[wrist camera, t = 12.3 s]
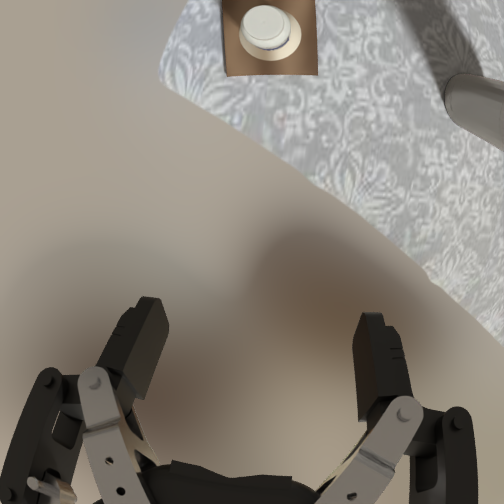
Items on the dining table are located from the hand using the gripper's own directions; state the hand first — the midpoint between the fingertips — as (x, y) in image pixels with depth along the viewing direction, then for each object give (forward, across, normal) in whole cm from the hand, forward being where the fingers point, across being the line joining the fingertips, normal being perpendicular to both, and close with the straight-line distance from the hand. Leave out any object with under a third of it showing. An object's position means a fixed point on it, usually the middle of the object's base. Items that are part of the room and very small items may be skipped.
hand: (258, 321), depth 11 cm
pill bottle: (+33, +2, -14) cm, 36 cm away
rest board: (+34, +2, -14) cm, 36 cm away
